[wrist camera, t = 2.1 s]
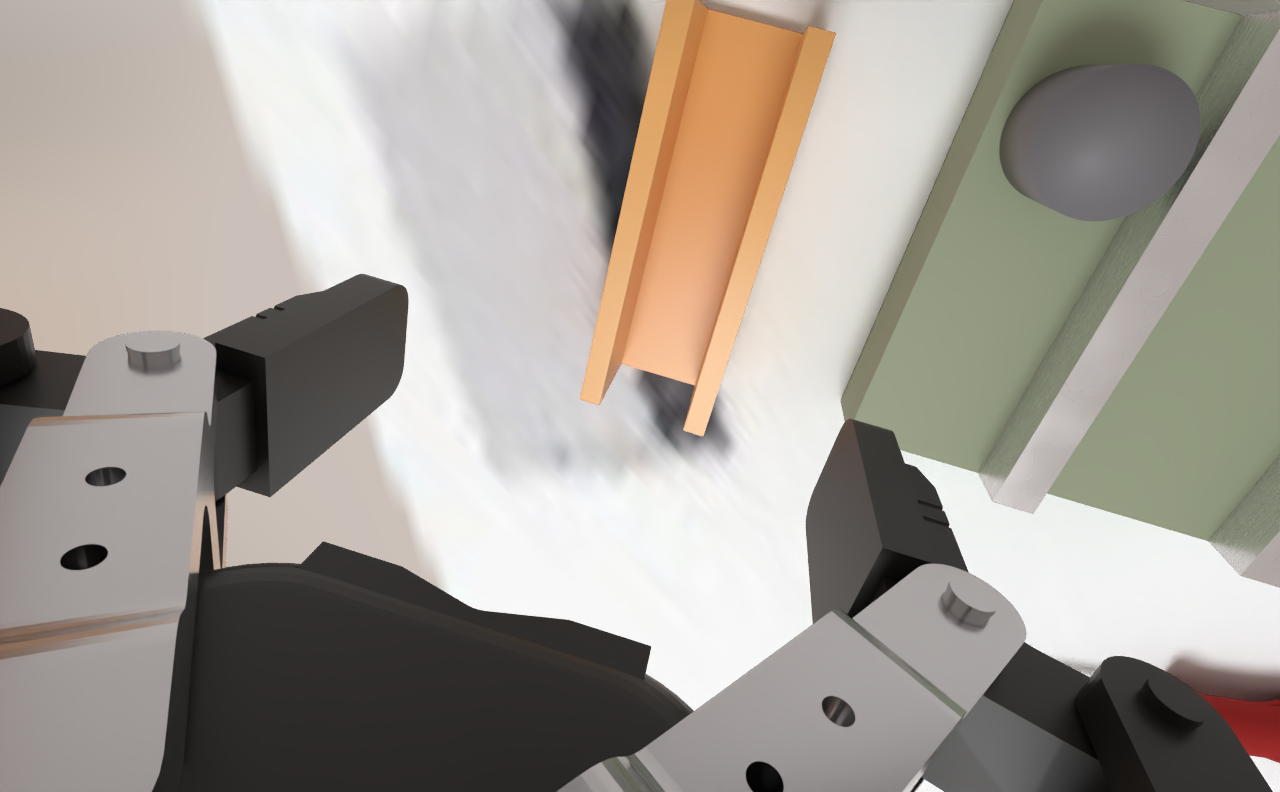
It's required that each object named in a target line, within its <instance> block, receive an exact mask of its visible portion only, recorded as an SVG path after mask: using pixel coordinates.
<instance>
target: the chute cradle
mask: <svg viewBox="0 0 1280 792" xmlns="http://www.w3.org/2000/svg"><path fill="white" fill-rule="evenodd" d="M1195 98H1196V100H1197V103H1198V106H1199V111H1200V120H1201V127H1200V135H1199V139H1198V144H1197V147H1196V149H1195V152H1194V155H1193V157H1192V159H1191V161H1190V163H1189V164H1188V166H1187V168H1186V169H1185V171H1184V172H1183V174H1182V175H1181V176H1180V178H1179V179H1178V180H1177V181H1176V182H1175V184H1174V185H1173V186H1172V187H1171V188H1170V189H1169V190H1168V191H1167V192H1166V193H1164V194H1163V195H1162V196H1161V197H1159V198H1158V199H1157V200H1156V201H1154V202H1152V203H1151V204H1149V205H1148V206H1146V207H1144V208H1143V209H1141V210H1139V211H1137V212H1134V213H1132V214H1129V215H1127V216H1126V217H1125V219H1124V221H1123V222H1122V224H1121V226H1120V228H1119V229H1118V231H1117V233H1116V235H1115V236H1114V238H1113V240H1112V241H1111V243H1110V245H1109V247H1108V248H1107V250H1106V252H1105V254H1104V255H1103V257H1102V259H1101V260H1100V262H1099V264H1098V266H1097V267H1096V269H1095V271H1094V273H1093V274H1092V276H1091V278H1090V279H1089V281H1088V283H1087V285H1086V286H1085V288H1084V290H1083V292H1082V293H1081V295H1080V297H1079V298H1078V300H1077V302H1076V304H1075V305H1074V307H1073V309H1072V311H1071V312H1070V314H1069V316H1068V317H1067V319H1066V321H1065V323H1064V324H1063V326H1062V328H1061V330H1060V331H1059V333H1058V335H1057V336H1056V338H1055V340H1054V342H1053V343H1052V345H1051V347H1050V349H1049V350H1048V352H1047V354H1046V355H1045V357H1044V359H1043V361H1042V362H1041V364H1040V366H1039V368H1038V369H1037V371H1036V373H1035V375H1034V376H1033V378H1032V380H1031V381H1030V383H1029V385H1028V387H1027V388H1026V390H1025V392H1024V394H1023V395H1022V397H1021V399H1020V400H1019V402H1018V404H1017V406H1016V407H1015V409H1014V411H1013V413H1012V414H1011V416H1010V418H1009V419H1008V421H1007V423H1006V425H1005V426H1004V428H1003V430H1002V432H1001V433H1000V435H999V437H998V438H997V440H996V442H995V444H994V445H993V447H992V449H991V451H990V452H989V454H988V456H987V457H986V459H985V461H984V463H983V464H982V466H981V468H980V470H979V471H978V474H979V476H980V478H981V480H982V482H983V484H984V486H985V488H986V490H987V492H988V494H989V496H990V498H991V500H992V502H995V503H998V504H1002V505H1005V506H1008V507H1012V508H1015V509H1018V510H1022V511H1025V512H1028V513H1032V514H1033V513H1034V512H1035V510H1036V509H1037V507H1038V506H1039V504H1040V503H1041V501H1042V499H1043V498H1044V496H1045V495H1046V493H1047V492H1048V490H1049V489H1050V487H1051V486H1052V484H1053V483H1054V481H1055V479H1056V478H1057V476H1058V475H1059V473H1060V472H1061V470H1062V469H1063V467H1064V466H1065V464H1066V463H1067V461H1068V459H1069V458H1070V456H1071V455H1072V453H1073V452H1074V450H1075V449H1076V447H1077V446H1078V444H1079V443H1080V441H1081V440H1082V438H1083V436H1084V435H1085V433H1086V432H1087V430H1088V429H1089V427H1090V426H1091V424H1092V423H1093V421H1094V420H1095V418H1096V416H1097V415H1098V413H1099V412H1100V410H1101V409H1102V407H1103V406H1104V404H1105V403H1106V401H1107V400H1108V398H1109V396H1110V395H1111V393H1112V392H1113V390H1114V389H1115V387H1116V386H1117V384H1118V383H1119V381H1120V380H1121V378H1122V376H1123V375H1124V373H1125V372H1126V370H1127V369H1128V367H1129V366H1130V364H1131V363H1132V361H1133V360H1134V358H1135V356H1136V355H1137V353H1138V352H1139V350H1140V349H1141V347H1142V346H1143V344H1144V343H1145V341H1146V340H1147V338H1148V336H1149V335H1150V333H1151V332H1152V330H1153V329H1154V327H1155V326H1156V324H1157V323H1158V321H1159V320H1160V318H1161V317H1162V315H1163V313H1164V312H1165V310H1166V309H1167V307H1168V306H1169V304H1170V303H1171V301H1172V300H1173V298H1174V297H1175V295H1176V293H1177V292H1178V290H1179V289H1180V287H1181V286H1182V284H1183V283H1184V281H1185V280H1186V278H1187V277H1188V275H1189V273H1190V272H1191V270H1192V269H1193V267H1194V266H1195V264H1196V263H1197V261H1198V260H1199V258H1200V257H1201V255H1202V253H1203V252H1204V250H1205V249H1206V247H1207V246H1208V244H1209V243H1210V241H1211V240H1212V238H1213V237H1214V235H1215V233H1216V232H1217V230H1218V229H1219V227H1220V226H1221V224H1222V223H1223V221H1224V220H1225V218H1226V217H1227V215H1228V213H1229V212H1230V210H1231V209H1232V207H1233V206H1234V204H1235V203H1236V201H1237V200H1238V198H1239V197H1240V195H1241V194H1242V192H1243V190H1244V189H1245V187H1246V186H1247V184H1248V183H1249V181H1250V180H1251V178H1252V177H1253V175H1254V174H1255V172H1256V170H1257V169H1258V167H1259V166H1260V164H1261V163H1262V161H1263V160H1264V158H1265V157H1266V155H1267V154H1268V152H1269V150H1270V149H1271V147H1272V146H1273V144H1274V143H1275V141H1276V140H1277V138H1278V137H1279V135H1280V11H1272V12H1265V13H1257V14H1249V15H1242V17H1241V19H1240V20H1239V22H1238V24H1237V25H1236V27H1235V29H1234V31H1233V32H1232V34H1231V36H1230V38H1229V39H1228V41H1227V43H1226V44H1225V46H1224V48H1223V50H1222V51H1221V53H1220V55H1219V57H1218V58H1217V60H1216V62H1215V63H1214V65H1213V67H1212V69H1211V70H1210V72H1209V74H1208V76H1207V77H1206V79H1205V81H1204V82H1203V84H1202V86H1201V88H1200V89H1199V91H1198V93H1197V95H1196V96H1195ZM1208 542H1209V543H1210V544H1211V545H1212V546H1213V547H1214V548H1215V549H1216V550H1217V551H1218V552H1219V553H1220V554H1221V556H1222V557H1223V558H1224V559H1225V560H1226V561H1227V562H1228V563H1229V564H1230V565H1231V566H1232V567H1233V568H1234V570H1235V571H1236V572H1237V573H1238V574H1239V575H1240V576H1243V577H1246V578H1250V579H1253V580H1257V581H1260V582H1263V583H1267V584H1270V585H1273V586H1277V587H1280V454H1279V456H1278V457H1277V458H1276V459H1275V460H1274V462H1273V463H1272V464H1271V465H1270V466H1269V468H1268V469H1267V470H1266V471H1265V472H1264V474H1263V475H1262V476H1261V477H1260V478H1259V480H1258V481H1257V482H1256V483H1255V485H1254V486H1253V487H1252V488H1251V489H1250V491H1249V492H1248V493H1247V494H1246V495H1245V497H1244V498H1243V499H1242V500H1241V501H1240V503H1239V504H1238V505H1237V506H1236V507H1235V509H1234V510H1233V511H1232V512H1231V513H1230V515H1229V516H1228V517H1227V518H1226V520H1225V521H1224V522H1223V523H1222V524H1221V526H1220V527H1219V528H1218V529H1217V530H1216V532H1215V533H1214V534H1213V535H1212V536H1211V538H1210V539H1209V540H1208Z"/></svg>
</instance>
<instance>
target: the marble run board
mask: <svg viewBox="0 0 1280 792" xmlns="http://www.w3.org/2000/svg"><path fill="white" fill-rule="evenodd" d="M1241 17H1242V15H1239V14H1235V13H1231V12H1227V11H1223V10H1219V9H1215V8H1211V7H1207V6H1203V5H1199V4H1195V3H1191V2H1187V1H1183V0H1014V2H1013V4H1012V6H1011V9H1010V11H1009V13H1008V16H1007V18H1006V20H1005V23H1004V25H1003V27H1002V29H1001V32H1000V34H999V36H998V39H997V41H996V43H995V46H994V48H993V50H992V53H991V55H990V57H989V60H988V62H987V64H986V66H985V69H984V71H983V73H982V76H981V78H980V80H979V83H978V85H977V87H976V90H975V92H974V94H973V97H972V99H971V101H970V103H969V106H968V108H967V110H966V113H965V115H964V117H963V120H962V122H961V124H960V127H959V129H958V131H957V134H956V136H955V138H954V140H953V143H952V145H951V147H950V150H949V152H948V154H947V157H946V159H945V161H944V164H943V166H942V168H941V171H940V173H939V175H938V177H937V180H936V182H935V184H934V187H933V189H932V191H931V194H930V196H929V198H928V201H927V203H926V205H925V207H924V210H923V212H922V214H921V217H920V219H919V221H918V224H917V226H916V228H915V231H914V233H913V235H912V238H911V240H910V242H909V244H908V247H907V249H906V251H905V254H904V256H903V258H902V261H901V263H900V265H899V268H898V270H897V272H896V275H895V277H894V279H893V281H892V284H891V286H890V288H889V291H888V293H887V295H886V298H885V300H884V302H883V305H882V307H881V309H880V312H879V314H878V316H877V318H876V321H875V323H874V325H873V328H872V330H871V332H870V335H869V337H868V339H867V342H866V344H865V346H864V349H863V351H862V353H861V355H860V358H859V360H858V362H857V365H856V367H855V369H854V372H853V374H852V376H851V379H850V381H849V383H848V386H847V388H846V390H845V392H844V395H843V397H842V399H841V405H842V410H843V415H844V420H845V422H846V421H847V420H848V419H850V418H851V419H854V420H858V421H861V422H864V423H868V424H871V425H874V426H878V427H881V428H885V429H888V430H891V431H893V432H894V434H895V437H896V440H897V442H898V445H899V448H900V450H903V451H906V452H909V453H913V454H916V455H920V456H923V457H926V458H930V459H933V460H936V461H940V462H943V463H947V464H950V465H953V466H957V467H960V468H963V469H967V470H970V471H974V472H977V473H978V471H979V470H980V468H981V466H982V464H983V463H984V461H985V459H986V457H987V456H988V454H989V452H990V451H991V449H992V447H993V445H994V444H995V442H996V440H997V438H998V437H999V435H1000V433H1001V432H1002V430H1003V428H1004V426H1005V425H1006V423H1007V421H1008V419H1009V418H1010V416H1011V414H1012V413H1013V411H1014V409H1015V407H1016V406H1017V404H1018V402H1019V400H1020V399H1021V397H1022V395H1023V394H1024V392H1025V390H1026V388H1027V387H1028V385H1029V383H1030V381H1031V380H1032V378H1033V376H1034V375H1035V373H1036V371H1037V369H1038V368H1039V366H1040V364H1041V362H1042V361H1043V359H1044V357H1045V355H1046V354H1047V352H1048V350H1049V349H1050V347H1051V345H1052V343H1053V342H1054V340H1055V338H1056V336H1057V335H1058V333H1059V331H1060V330H1061V328H1062V326H1063V324H1064V323H1065V321H1066V319H1067V317H1068V316H1069V314H1070V312H1071V311H1072V309H1073V307H1074V305H1075V304H1076V302H1077V300H1078V298H1079V297H1080V295H1081V293H1082V292H1083V290H1084V288H1085V286H1086V285H1087V283H1088V281H1089V279H1090V278H1091V276H1092V274H1093V273H1094V271H1095V269H1096V267H1097V266H1098V264H1099V262H1100V260H1101V259H1102V257H1103V255H1104V254H1105V252H1106V250H1107V248H1108V247H1109V245H1110V243H1111V241H1112V240H1113V238H1114V236H1115V235H1116V233H1117V231H1118V229H1119V228H1120V226H1121V224H1122V222H1123V221H1124V219H1125V217H1126V216H1127V215H1129V214H1132V213H1134V212H1137V211H1139V210H1141V209H1143V208H1144V207H1146V206H1148V205H1149V204H1151V203H1152V202H1154V201H1156V200H1157V199H1158V198H1159V197H1161V196H1162V195H1163V194H1164V193H1166V192H1167V191H1168V190H1169V189H1170V188H1171V187H1172V186H1173V185H1174V184H1175V182H1176V181H1177V180H1178V179H1179V178H1180V176H1181V175H1182V174H1183V172H1184V171H1185V169H1186V168H1187V166H1188V164H1189V163H1190V161H1191V159H1192V157H1193V155H1194V152H1195V149H1196V147H1197V144H1198V139H1199V135H1200V127H1201V120H1200V111H1199V106H1198V103H1197V100H1196V98H1195V96H1196V95H1197V93H1198V91H1199V89H1200V88H1201V86H1202V84H1203V82H1204V81H1205V79H1206V77H1207V76H1208V74H1209V72H1210V70H1211V69H1212V67H1213V65H1214V63H1215V62H1216V60H1217V58H1218V57H1219V55H1220V53H1221V51H1222V50H1223V48H1224V46H1225V44H1226V43H1227V41H1228V39H1229V38H1230V36H1231V34H1232V32H1233V31H1234V29H1235V27H1236V25H1237V24H1238V22H1239V20H1240V19H1241ZM1279 454H1280V135H1279V137H1278V138H1277V140H1276V141H1275V143H1274V144H1273V146H1272V147H1271V149H1270V150H1269V152H1268V154H1267V155H1266V157H1265V158H1264V160H1263V161H1262V163H1261V164H1260V166H1259V167H1258V169H1257V170H1256V172H1255V174H1254V175H1253V177H1252V178H1251V180H1250V181H1249V183H1248V184H1247V186H1246V187H1245V189H1244V190H1243V192H1242V194H1241V195H1240V197H1239V198H1238V200H1237V201H1236V203H1235V204H1234V206H1233V207H1232V209H1231V210H1230V212H1229V213H1228V215H1227V217H1226V218H1225V220H1224V221H1223V223H1222V224H1221V226H1220V227H1219V229H1218V230H1217V232H1216V233H1215V235H1214V237H1213V238H1212V240H1211V241H1210V243H1209V244H1208V246H1207V247H1206V249H1205V250H1204V252H1203V253H1202V255H1201V257H1200V258H1199V260H1198V261H1197V263H1196V264H1195V266H1194V267H1193V269H1192V270H1191V272H1190V273H1189V275H1188V277H1187V278H1186V280H1185V281H1184V283H1183V284H1182V286H1181V287H1180V289H1179V290H1178V292H1177V293H1176V295H1175V297H1174V298H1173V300H1172V301H1171V303H1170V304H1169V306H1168V307H1167V309H1166V310H1165V312H1164V313H1163V315H1162V317H1161V318H1160V320H1159V321H1158V323H1157V324H1156V326H1155V327H1154V329H1153V330H1152V332H1151V333H1150V335H1149V336H1148V338H1147V340H1146V341H1145V343H1144V344H1143V346H1142V347H1141V349H1140V350H1139V352H1138V353H1137V355H1136V356H1135V358H1134V360H1133V361H1132V363H1131V364H1130V366H1129V367H1128V369H1127V370H1126V372H1125V373H1124V375H1123V376H1122V378H1121V380H1120V381H1119V383H1118V384H1117V386H1116V387H1115V389H1114V390H1113V392H1112V393H1111V395H1110V396H1109V398H1108V400H1107V401H1106V403H1105V404H1104V406H1103V407H1102V409H1101V410H1100V412H1099V413H1098V415H1097V416H1096V418H1095V420H1094V421H1093V423H1092V424H1091V426H1090V427H1089V429H1088V430H1087V432H1086V433H1085V435H1084V436H1083V438H1082V440H1081V441H1080V443H1079V444H1078V446H1077V447H1076V449H1075V450H1074V452H1073V453H1072V455H1071V456H1070V458H1069V459H1068V461H1067V463H1066V464H1065V466H1064V467H1063V469H1062V470H1061V472H1060V473H1059V475H1058V476H1057V478H1056V479H1055V481H1054V483H1053V484H1052V486H1051V487H1050V489H1049V490H1048V492H1047V493H1048V494H1051V495H1055V496H1058V497H1061V498H1065V499H1068V500H1072V501H1075V502H1078V503H1082V504H1085V505H1088V506H1092V507H1095V508H1099V509H1102V510H1105V511H1109V512H1112V513H1115V514H1119V515H1122V516H1126V517H1129V518H1132V519H1136V520H1139V521H1142V522H1146V523H1149V524H1153V525H1156V526H1159V527H1163V528H1166V529H1169V530H1173V531H1176V532H1180V533H1183V534H1186V535H1190V536H1193V537H1196V538H1200V539H1203V540H1207V541H1208V540H1209V539H1210V538H1211V536H1212V535H1213V534H1214V533H1215V532H1216V530H1217V529H1218V528H1219V527H1220V526H1221V524H1222V523H1223V522H1224V521H1225V520H1226V518H1227V517H1228V516H1229V515H1230V513H1231V512H1232V511H1233V510H1234V509H1235V507H1236V506H1237V505H1238V504H1239V503H1240V501H1241V500H1242V499H1243V498H1244V497H1245V495H1246V494H1247V493H1248V492H1249V491H1250V489H1251V488H1252V487H1253V486H1254V485H1255V483H1256V482H1257V481H1258V480H1259V478H1260V477H1261V476H1262V475H1263V474H1264V472H1265V471H1266V470H1267V469H1268V468H1269V466H1270V465H1271V464H1272V463H1273V462H1274V460H1275V459H1276V458H1277V457H1278V456H1279Z"/></svg>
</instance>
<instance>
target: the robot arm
mask: <svg viewBox="0 0 1280 792" xmlns="http://www.w3.org/2000/svg"><path fill="white" fill-rule="evenodd" d="M407 315H408V293H407V290H406V288H405V287H404V286H402V285H399V284H396V283H392V282H389V281H386V280H382V279H379V278H375V277H372V276H369V275H365V274H359V275H356V276H354V277H352V278H350V279H348V280H346V281H344V282H342V283H340V284H337V285H335V286H333V287H331V288H329V289H327V290H325V291H321V292H315V293H310V294H304V295H299V296H295V297H293V298H291V299H289V300H286V301H284V302H283V303H280V304H278V305H276V306H275V307H274V309H273V308H269V309H267V310H264V311H262V312H260V313H258V314H257V315H256V317H253V316H251V317H249V318H247V319H245V320H243V321H240V322H238V323H236V324H234V325H232V326H229V327H227V328H225V329H223V330H221V331H218V332H216V333H214V334H212V335H210V336H207V337H205V338H203V339H202V338H200V337H198V336H194V335H191V334H186V333H181V332H172V331H143V332H133V333H127V334H122V335H118V336H114V337H111V338H108V339H106V340H103V341H101V342H99V343H98V344H96V345H94V346H93V347H92V348H91V349H90V350H89V352H88V353H87V355H86V356H81V355H72V354H64V353H55V352H48V351H38V350H35V348H34V344H33V339H32V334H31V330H30V325H29V322H28V321H27V319H26V318H25V317H23V316H22V315H20V314H18V313H16V312H13V311H10V310H6V309H2V308H0V792H916V791H917V790H918V788H919V787H920V786H921V784H922V783H923V782H924V780H927V781H928V782H930V783H932V784H933V785H935V786H936V787H938V788H940V789H941V790H943V791H944V792H1273V791H1272V790H1271V788H1270V787H1269V785H1268V784H1267V782H1266V781H1265V779H1264V778H1263V776H1262V775H1261V773H1260V771H1259V770H1258V768H1257V767H1256V765H1255V764H1254V762H1253V761H1252V759H1251V758H1250V756H1249V755H1248V753H1247V751H1246V750H1245V748H1244V747H1243V745H1242V744H1241V742H1240V741H1239V739H1238V738H1237V736H1236V734H1235V733H1234V731H1233V730H1232V729H1231V727H1230V726H1229V724H1228V723H1227V722H1226V721H1225V719H1224V718H1223V717H1222V716H1221V715H1220V714H1219V713H1218V711H1217V710H1216V709H1215V708H1214V707H1212V706H1211V705H1210V704H1209V703H1208V702H1207V701H1206V700H1205V699H1204V698H1203V697H1201V696H1200V695H1199V694H1198V693H1197V692H1195V691H1194V690H1193V689H1191V688H1190V687H1189V686H1187V685H1186V684H1185V683H1183V682H1182V681H1180V680H1179V679H1177V678H1176V677H1174V676H1172V675H1171V674H1169V673H1167V672H1165V671H1164V670H1162V669H1160V668H1157V667H1155V666H1153V665H1151V664H1149V663H1146V662H1144V661H1141V660H1138V659H1134V658H1130V657H1124V656H1113V657H1109V658H1107V659H1106V660H1104V661H1103V662H1102V664H1101V665H1100V666H1099V667H1098V669H1097V670H1096V671H1095V672H1094V673H1093V675H1092V676H1091V677H1088V676H1086V675H1084V674H1082V673H1080V672H1078V671H1076V670H1074V669H1073V668H1071V667H1069V666H1067V665H1065V664H1063V663H1061V662H1059V661H1057V660H1055V659H1053V658H1052V657H1050V656H1048V655H1046V654H1044V653H1042V652H1040V651H1038V650H1037V649H1035V648H1033V647H1031V646H1030V645H1028V644H1026V643H1025V642H1024V641H1025V639H1026V628H1025V625H1024V622H1023V620H1022V618H1021V616H1020V615H1019V613H1018V611H1017V610H1016V609H1015V608H1014V606H1013V605H1012V604H1011V603H1010V602H1009V601H1008V600H1007V599H1006V598H1005V597H1004V596H1003V595H1002V594H1001V593H1000V592H998V591H997V590H996V589H995V588H993V587H992V586H990V585H989V584H988V583H986V582H984V581H983V580H981V579H980V578H978V577H976V576H974V575H972V574H970V573H969V572H968V570H967V567H966V565H965V562H964V560H963V557H962V555H961V552H960V549H959V547H958V544H957V542H956V539H955V537H954V534H953V532H952V529H951V528H949V522H948V519H947V517H946V514H945V512H944V511H942V508H943V507H942V504H941V501H940V499H939V496H938V494H937V491H936V489H935V487H934V486H933V485H932V484H931V483H930V482H929V481H928V479H927V478H926V477H925V476H924V475H923V474H922V473H921V472H920V471H919V470H918V468H917V467H915V466H911V465H908V464H905V463H904V460H903V457H902V454H901V451H900V448H899V445H898V442H897V440H896V437H895V434H894V432H893V431H891V430H888V429H885V428H881V427H878V426H874V425H871V424H868V423H864V422H861V421H858V420H854V419H851V418H850V419H848V420H847V421H846V422H845V423H844V424H843V426H842V428H841V430H840V432H839V434H838V436H837V439H836V441H835V443H834V445H833V448H832V450H831V452H830V454H829V457H828V459H827V461H826V464H825V466H824V468H823V470H822V473H821V475H820V477H819V479H818V482H817V484H816V486H815V488H814V491H813V493H812V496H811V499H810V502H809V506H808V511H807V516H806V536H807V550H808V563H809V577H810V591H811V604H812V618H813V625H811V626H810V627H809V628H807V629H806V630H804V631H803V632H802V633H800V634H799V635H798V636H796V637H795V638H794V639H792V640H791V641H789V642H788V643H787V644H785V645H784V646H783V647H781V648H780V649H779V650H777V651H776V652H774V653H773V654H772V655H770V656H769V657H768V658H766V659H765V660H763V661H762V662H761V663H759V664H758V665H757V666H755V667H754V668H753V669H751V670H750V671H748V672H747V673H746V674H744V675H743V676H742V677H740V678H739V679H737V680H736V681H735V682H733V683H732V684H731V685H729V686H728V687H727V688H725V689H724V690H722V691H721V692H720V693H718V694H717V695H716V696H714V697H713V698H712V699H710V700H709V701H707V702H706V703H705V704H703V705H702V706H701V707H699V708H698V709H696V710H695V711H693V710H692V709H691V708H690V707H689V706H688V705H687V704H686V703H685V702H684V701H683V700H681V699H680V698H679V697H678V696H677V695H676V694H674V693H673V692H672V691H670V690H669V689H668V688H666V687H665V686H664V685H662V684H661V683H659V682H658V681H656V680H655V679H653V678H652V677H650V676H648V675H647V674H645V673H646V669H647V664H648V659H649V655H650V650H651V646H648V645H645V644H642V643H639V642H636V641H633V640H630V639H627V638H623V637H620V636H617V635H614V634H611V633H608V632H605V631H602V630H598V629H595V628H592V627H589V626H586V625H583V624H580V623H577V622H573V621H570V620H564V619H554V618H545V617H536V616H526V615H517V614H508V613H498V612H489V611H482V610H477V609H474V608H472V607H470V606H468V605H466V604H464V603H463V602H461V601H459V600H458V599H456V598H454V597H452V596H451V595H449V594H447V593H446V592H444V591H442V590H441V589H439V588H437V587H436V586H434V585H432V584H430V583H429V582H427V581H425V580H424V579H422V578H420V577H419V576H417V575H415V574H414V573H412V572H410V571H408V570H407V569H405V568H403V567H401V566H398V565H395V564H392V563H389V562H386V561H383V560H380V559H376V558H373V557H370V556H367V555H364V554H361V553H357V552H355V551H351V550H348V549H345V548H342V547H339V546H336V545H333V544H330V543H327V542H322V543H321V544H320V545H319V546H318V547H317V548H316V549H315V550H314V552H312V554H310V555H309V557H308V558H307V559H306V560H305V561H304V562H303V563H302V564H295V563H260V564H246V565H239V566H232V567H226V548H227V547H226V545H227V521H228V506H227V493H228V492H229V491H231V490H232V489H233V488H235V487H240V488H243V489H246V490H249V491H252V492H255V493H259V494H262V495H265V496H268V497H271V496H272V495H273V494H274V493H276V492H277V491H278V490H279V489H281V488H282V487H283V486H284V485H285V484H287V483H288V482H289V481H290V480H291V479H293V478H294V477H295V476H296V475H297V474H299V473H300V472H301V471H302V470H303V469H305V468H306V467H307V466H308V465H309V464H311V463H312V462H313V461H314V460H315V459H317V458H318V457H319V456H320V455H321V454H323V453H324V452H325V451H326V450H327V449H329V448H330V447H331V446H332V445H333V444H335V443H336V442H337V441H338V440H339V439H341V438H342V437H343V436H344V435H345V434H346V433H348V432H349V431H350V430H352V429H353V428H354V427H355V426H356V425H358V424H359V423H360V422H361V421H362V420H364V419H365V418H366V417H367V416H368V415H370V414H371V413H372V412H373V411H374V410H376V409H377V408H378V407H379V406H380V405H382V404H383V403H384V402H385V401H386V400H388V399H389V398H390V397H391V396H392V394H393V393H394V392H395V390H396V388H397V386H398V384H399V382H400V379H401V376H402V373H403V367H404V355H405V342H406V328H407Z"/></svg>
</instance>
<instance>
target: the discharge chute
mask: <svg viewBox="0 0 1280 792" xmlns="http://www.w3.org/2000/svg"><path fill="white" fill-rule="evenodd" d="M835 35H836V33H835V32H831V31H827V30H823V29H819V28H815V27H812V26H809V27H808V28H807V29H806V31H805V32H804V34H802V33H798V32H794V31H790V30H786V29H782V28H779V27H775V26H771V25H767V24H763V23H760V22H756V21H752V20H748V19H744V18H741V17H737V16H733V15H729V14H725V13H721V12H718V11H714V10H710V9H708V8H707V7H706V6H705V5H704V4H703V3H702V2H701V1H700V0H667V2H666V6H665V11H664V15H663V20H662V25H661V29H660V34H659V38H658V43H657V47H656V52H655V57H654V61H653V66H652V70H651V75H650V80H649V84H648V89H647V93H646V98H645V102H644V107H643V112H642V116H641V121H640V125H639V130H638V135H637V139H636V144H635V148H634V153H633V157H632V162H631V167H630V171H629V176H628V180H627V185H626V190H625V194H624V199H623V203H622V208H621V212H620V217H619V222H618V226H617V231H616V235H615V240H614V245H613V249H612V254H611V258H610V263H609V267H608V272H607V277H606V281H605V286H604V290H603V295H602V300H601V304H600V309H599V313H598V318H597V323H596V327H595V332H594V336H593V341H592V345H591V350H590V355H589V359H588V364H587V368H586V373H585V378H584V382H583V387H582V391H581V396H580V400H583V401H587V402H590V403H593V404H597V405H600V403H601V401H602V399H603V397H604V396H605V394H606V392H607V390H608V388H609V386H610V384H611V382H612V380H613V379H614V377H615V375H616V373H617V371H618V369H619V367H620V365H621V364H624V365H628V366H631V367H634V368H638V369H641V370H645V371H648V372H651V373H655V374H658V375H661V376H665V377H668V378H672V379H675V380H678V381H682V382H685V383H689V384H692V385H695V387H694V391H693V394H692V398H691V402H690V406H689V410H688V414H687V418H686V422H685V426H684V430H683V431H687V432H690V433H693V434H697V435H700V436H704V433H705V430H706V427H707V423H708V420H709V417H710V414H711V411H712V408H713V405H714V402H715V399H716V396H717V393H718V390H719V387H720V384H721V381H722V378H723V375H724V372H725V369H726V366H727V363H728V360H729V357H730V354H731V351H732V348H733V344H734V341H735V338H736V335H737V332H738V329H739V326H740V323H741V320H742V317H743V314H744V311H745V308H746V305H747V302H748V299H749V296H750V293H751V290H752V287H753V284H754V281H755V278H756V275H757V272H758V269H759V265H760V262H761V259H762V256H763V253H764V250H765V247H766V244H767V241H768V238H769V235H770V232H771V229H772V226H773V223H774V220H775V217H776V214H777V211H778V208H779V205H780V202H781V199H782V196H783V193H784V190H785V187H786V183H787V180H788V177H789V174H790V171H791V168H792V165H793V162H794V159H795V156H796V153H797V150H798V147H799V144H800V141H801V138H802V135H803V132H804V129H805V126H806V123H807V120H808V117H809V114H810V111H811V108H812V104H813V101H814V98H815V95H816V92H817V89H818V86H819V83H820V80H821V77H822V74H823V71H824V68H825V65H826V62H827V59H828V56H829V53H830V50H831V47H832V44H833V41H834V38H835Z"/></svg>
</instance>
